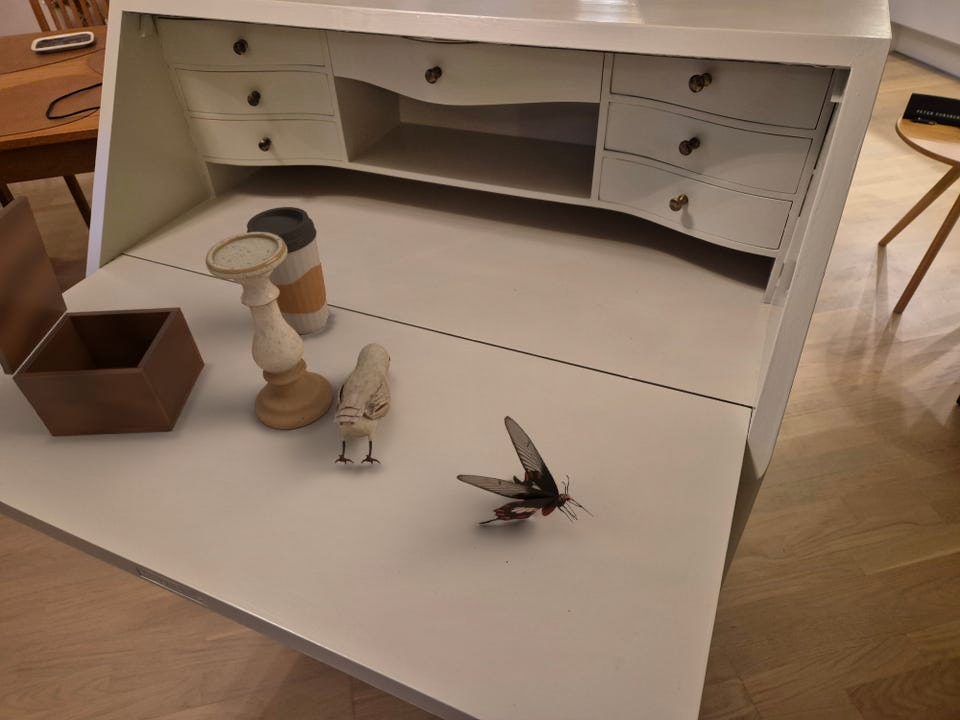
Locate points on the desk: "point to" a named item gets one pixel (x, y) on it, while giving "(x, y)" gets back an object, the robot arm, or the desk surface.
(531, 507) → the butterfly
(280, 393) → the candle holder
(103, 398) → the keepsake box
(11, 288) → the lid
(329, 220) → the desk surface
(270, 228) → the coffee cup
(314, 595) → the desk surface
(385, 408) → the decorative bird
